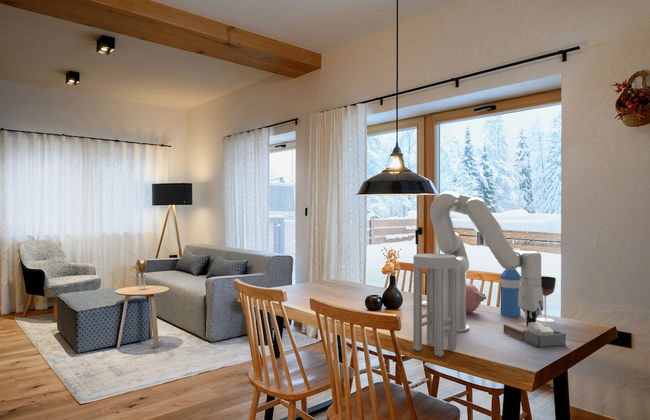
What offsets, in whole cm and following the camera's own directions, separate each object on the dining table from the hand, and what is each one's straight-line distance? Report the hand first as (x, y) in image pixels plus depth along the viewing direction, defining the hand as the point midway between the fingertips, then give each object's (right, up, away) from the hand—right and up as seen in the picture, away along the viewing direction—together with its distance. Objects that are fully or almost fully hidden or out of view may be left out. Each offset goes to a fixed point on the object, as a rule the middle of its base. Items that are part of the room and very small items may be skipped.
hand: (531, 326), depth 177 cm
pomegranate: (-12, -5, +41) cm, 43 cm away
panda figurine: (-26, -4, +64) cm, 69 cm away
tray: (+2, -4, -7) cm, 9 cm away
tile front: (+1, -1, -6) cm, 6 cm away
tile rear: (0, -1, -3) cm, 4 cm away
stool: (-43, -5, -15) cm, 46 cm away
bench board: (-1, -4, +3) cm, 6 cm away
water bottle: (+8, -5, +39) cm, 40 cm away
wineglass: (+21, -5, +29) cm, 36 cm away
